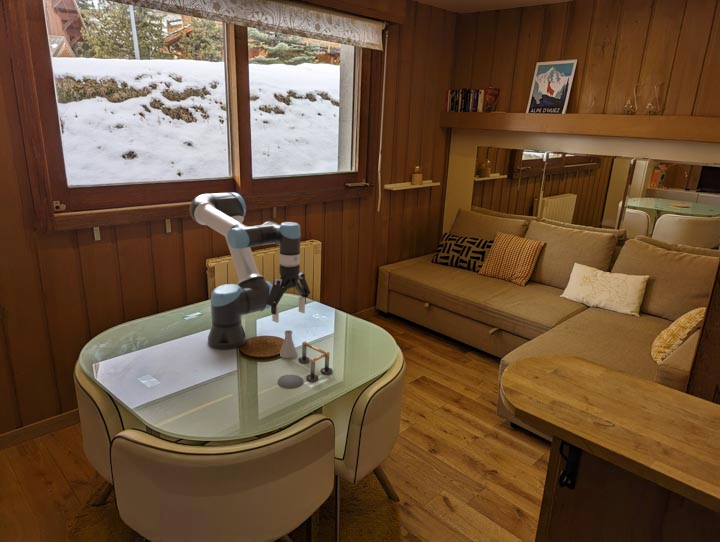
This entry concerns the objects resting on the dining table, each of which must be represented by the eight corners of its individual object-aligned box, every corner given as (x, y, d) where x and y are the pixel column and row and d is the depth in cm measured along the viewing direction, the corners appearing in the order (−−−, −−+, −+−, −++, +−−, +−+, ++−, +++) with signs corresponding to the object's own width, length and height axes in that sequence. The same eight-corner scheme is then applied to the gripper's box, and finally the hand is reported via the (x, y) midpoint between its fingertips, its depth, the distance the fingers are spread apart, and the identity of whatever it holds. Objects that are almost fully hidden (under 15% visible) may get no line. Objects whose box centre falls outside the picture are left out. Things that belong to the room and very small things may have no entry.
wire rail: (281, 367, 186) (281, 347, 183) (304, 357, 195) (304, 338, 192) (312, 383, 176) (312, 362, 174) (334, 371, 185) (335, 351, 182)
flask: (293, 360, 192) (294, 336, 189) (276, 357, 193) (276, 334, 190) (299, 352, 199) (300, 329, 196) (282, 349, 200) (282, 326, 197)
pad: (272, 381, 175) (272, 380, 175) (291, 372, 182) (291, 371, 182) (289, 391, 170) (289, 390, 170) (308, 381, 177) (308, 380, 177)
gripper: (270, 272, 173) (270, 328, 179) (320, 260, 192) (318, 311, 198) (256, 268, 178) (257, 322, 184) (306, 256, 196) (305, 306, 202)
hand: (288, 316), depth 191 cm, fingers open, 13 cm apart
